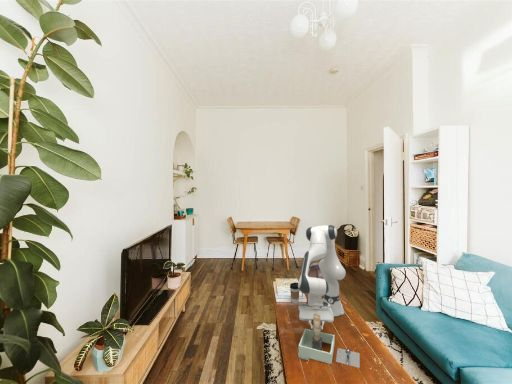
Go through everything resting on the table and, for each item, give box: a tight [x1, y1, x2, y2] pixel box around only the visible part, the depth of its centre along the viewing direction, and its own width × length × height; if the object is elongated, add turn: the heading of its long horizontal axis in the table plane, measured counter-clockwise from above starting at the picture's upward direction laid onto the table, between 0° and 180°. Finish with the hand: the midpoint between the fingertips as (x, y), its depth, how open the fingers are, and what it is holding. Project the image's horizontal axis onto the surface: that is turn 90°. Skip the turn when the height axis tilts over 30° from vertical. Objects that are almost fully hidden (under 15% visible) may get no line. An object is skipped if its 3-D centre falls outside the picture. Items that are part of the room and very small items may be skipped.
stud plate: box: [335, 347, 361, 369], centre depth 137 cm, size 12×12×6 cm
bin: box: [298, 328, 336, 365], centre depth 143 cm, size 18×18×7 cm
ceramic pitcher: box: [308, 262, 323, 279], centre depth 222 cm, size 18×21×25 cm
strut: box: [312, 313, 323, 351], centre depth 143 cm, size 5×5×19 cm
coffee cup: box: [289, 282, 301, 304], centre depth 204 cm, size 8×8×15 cm
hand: (317, 329), depth 142 cm, fingers closed on strut, 4 cm apart
